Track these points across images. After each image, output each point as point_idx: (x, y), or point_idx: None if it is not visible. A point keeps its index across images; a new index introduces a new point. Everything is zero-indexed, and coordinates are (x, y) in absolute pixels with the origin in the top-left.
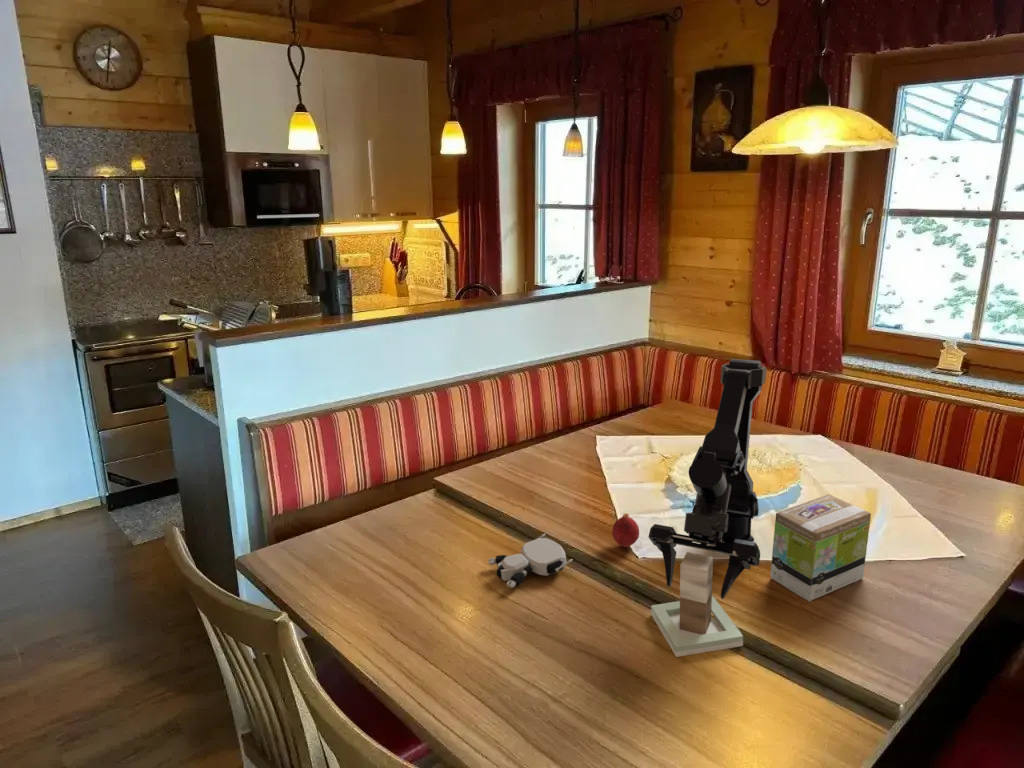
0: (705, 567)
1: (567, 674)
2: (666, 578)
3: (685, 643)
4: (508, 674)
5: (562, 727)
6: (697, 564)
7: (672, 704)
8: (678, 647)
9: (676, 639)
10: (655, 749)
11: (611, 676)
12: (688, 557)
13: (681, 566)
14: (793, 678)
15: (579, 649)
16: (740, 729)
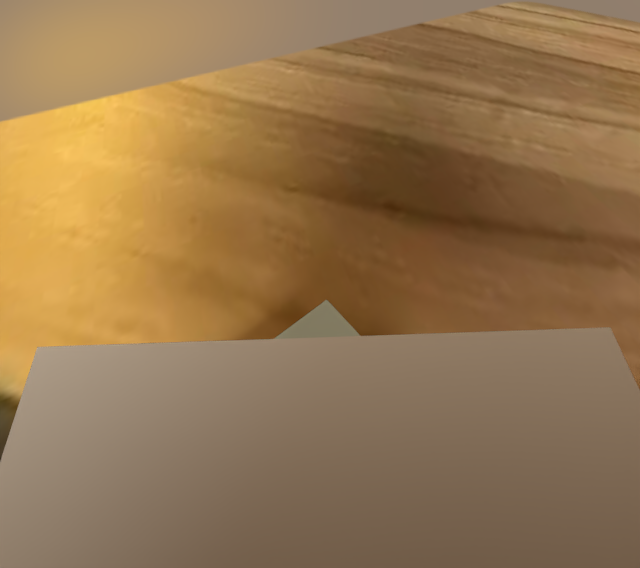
0: (71, 455)
1: (535, 159)
2: None
3: (301, 331)
4: (632, 122)
5: (445, 63)
6: (296, 513)
7: (276, 162)
8: (319, 306)
9: None
10: (274, 72)
11: (446, 186)
12: None
13: (563, 335)
14: None
15: (582, 238)
16: (110, 151)
